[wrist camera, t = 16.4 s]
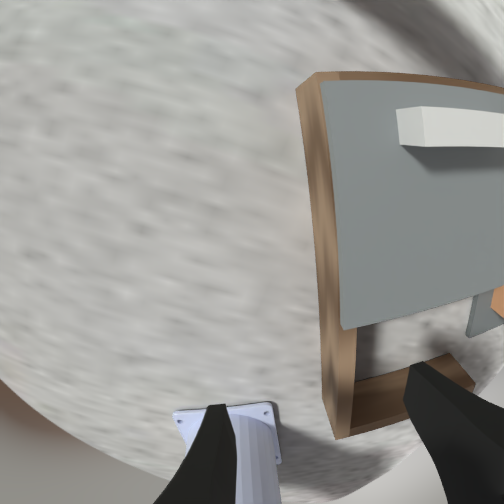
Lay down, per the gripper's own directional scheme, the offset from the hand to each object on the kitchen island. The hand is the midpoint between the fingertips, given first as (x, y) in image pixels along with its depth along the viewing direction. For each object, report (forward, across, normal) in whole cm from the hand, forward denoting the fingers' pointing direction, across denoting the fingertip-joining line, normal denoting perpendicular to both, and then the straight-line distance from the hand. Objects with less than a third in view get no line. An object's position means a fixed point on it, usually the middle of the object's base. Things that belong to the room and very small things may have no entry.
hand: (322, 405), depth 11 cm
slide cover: (+5, -8, -6) cm, 11 cm away
